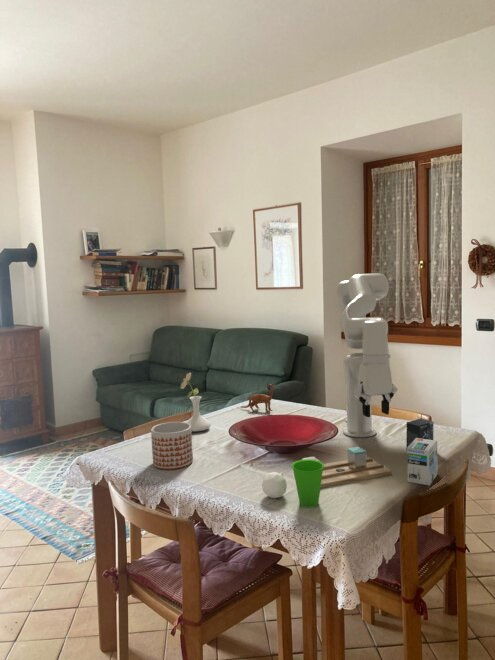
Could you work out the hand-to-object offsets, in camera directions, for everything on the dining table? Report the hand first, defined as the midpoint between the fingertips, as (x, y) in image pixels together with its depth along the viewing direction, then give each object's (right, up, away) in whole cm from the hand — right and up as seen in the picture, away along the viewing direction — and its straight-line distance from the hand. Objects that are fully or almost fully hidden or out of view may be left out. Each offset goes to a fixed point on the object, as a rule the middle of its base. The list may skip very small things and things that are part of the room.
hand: (376, 414), depth 167 cm
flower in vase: (-63, -15, +51) cm, 82 cm away
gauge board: (-11, -18, -2) cm, 21 cm away
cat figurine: (-36, -11, +78) cm, 87 cm away
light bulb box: (+12, -18, -8) cm, 23 cm away
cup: (-24, -21, -22) cm, 39 cm away
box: (+19, -16, +15) cm, 29 cm away
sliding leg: (-6, -17, -1) cm, 18 cm away
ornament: (-33, -21, -17) cm, 43 cm away
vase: (-67, -19, +14) cm, 71 cm away
